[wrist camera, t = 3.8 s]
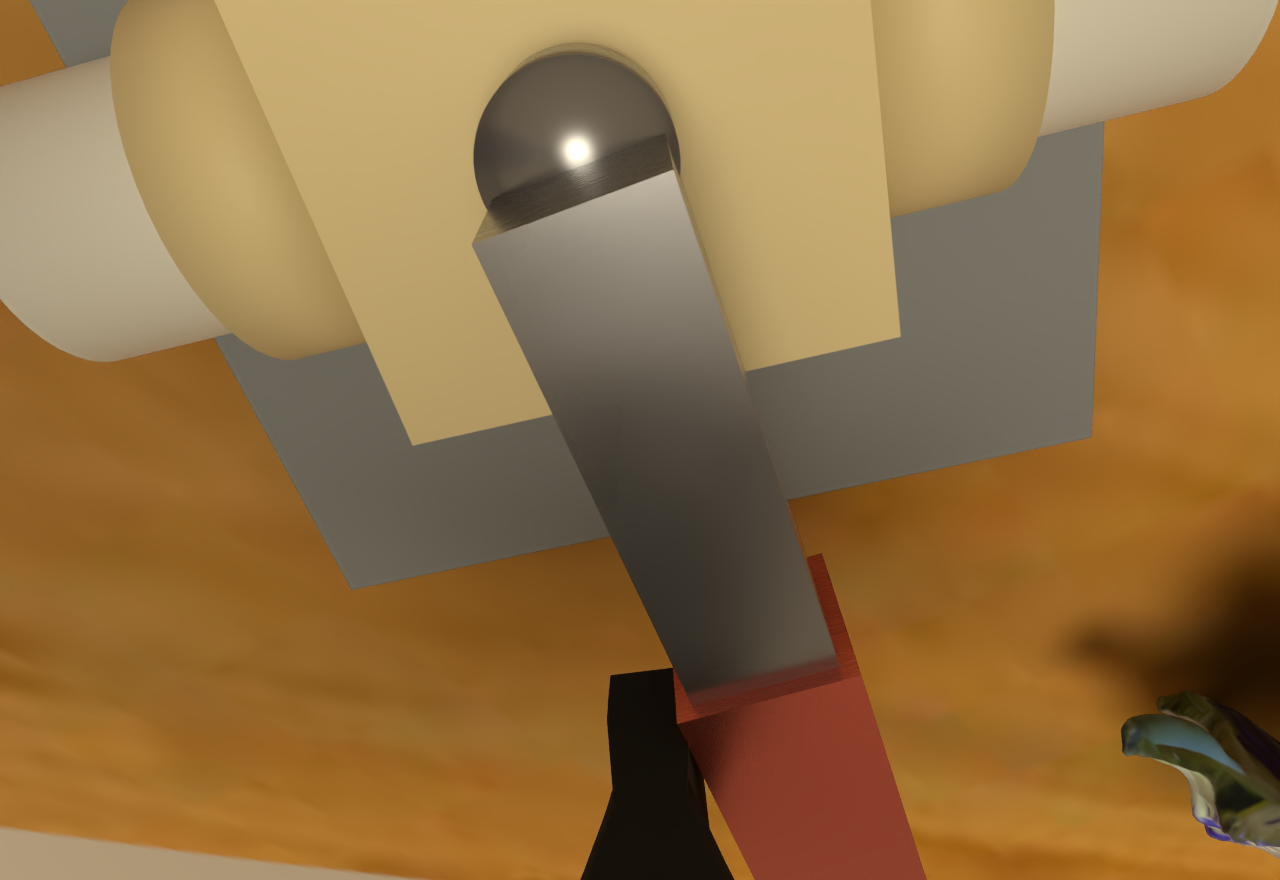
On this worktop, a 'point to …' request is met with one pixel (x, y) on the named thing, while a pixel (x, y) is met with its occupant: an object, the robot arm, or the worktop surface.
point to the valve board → (810, 408)
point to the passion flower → (1216, 765)
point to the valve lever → (682, 461)
